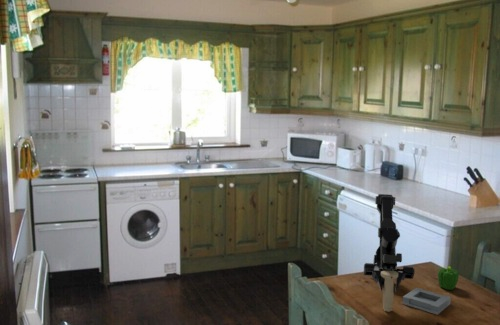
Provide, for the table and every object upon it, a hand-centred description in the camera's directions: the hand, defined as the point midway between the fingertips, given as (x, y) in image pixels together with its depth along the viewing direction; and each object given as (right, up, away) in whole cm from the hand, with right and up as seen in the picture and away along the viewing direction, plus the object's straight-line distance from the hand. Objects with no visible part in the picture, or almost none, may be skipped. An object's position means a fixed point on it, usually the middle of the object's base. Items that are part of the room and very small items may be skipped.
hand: (388, 291), depth 191 cm
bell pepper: (+32, -5, +26) cm, 41 cm away
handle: (0, -8, +3) cm, 8 cm away
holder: (+17, -7, +9) cm, 21 cm away
